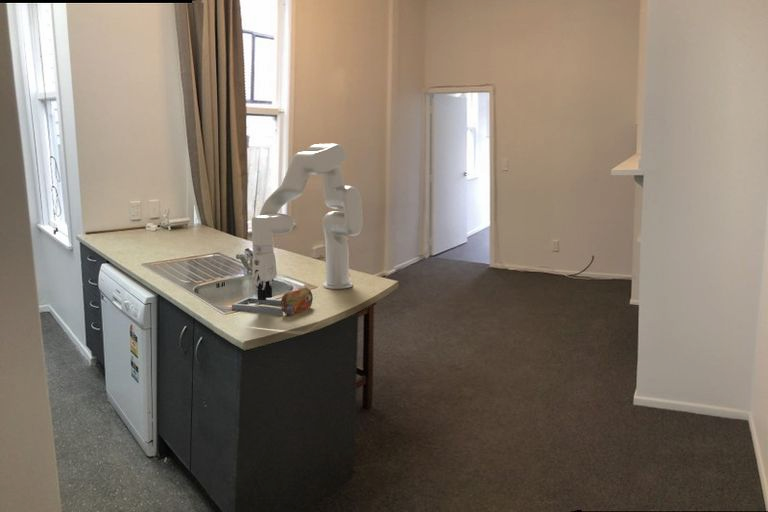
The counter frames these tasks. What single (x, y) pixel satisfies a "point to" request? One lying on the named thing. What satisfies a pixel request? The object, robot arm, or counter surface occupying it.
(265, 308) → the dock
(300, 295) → the tin
